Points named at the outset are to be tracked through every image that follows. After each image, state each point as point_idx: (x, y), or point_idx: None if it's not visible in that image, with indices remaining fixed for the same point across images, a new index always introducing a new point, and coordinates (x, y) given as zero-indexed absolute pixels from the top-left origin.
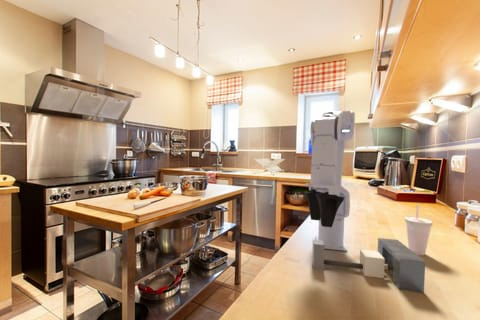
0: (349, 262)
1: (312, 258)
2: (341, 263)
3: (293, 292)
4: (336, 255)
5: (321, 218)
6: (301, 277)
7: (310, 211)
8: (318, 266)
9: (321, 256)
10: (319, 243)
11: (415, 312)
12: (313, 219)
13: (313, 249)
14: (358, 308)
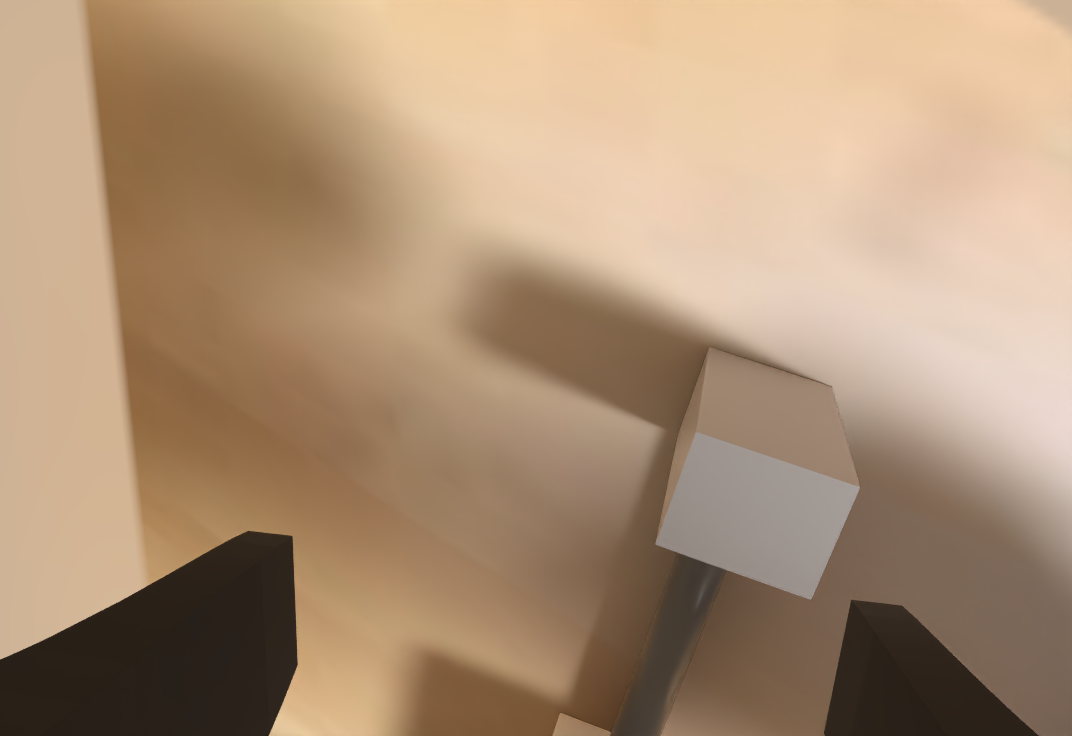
0: (655, 697)
1: (803, 393)
2: (659, 621)
3: (320, 6)
4: None
5: (175, 578)
6: (543, 159)
7: (913, 685)
8: (692, 399)
9: (676, 461)
10: (709, 509)
11: None
12: (846, 635)
13: (738, 415)
14: (182, 412)
